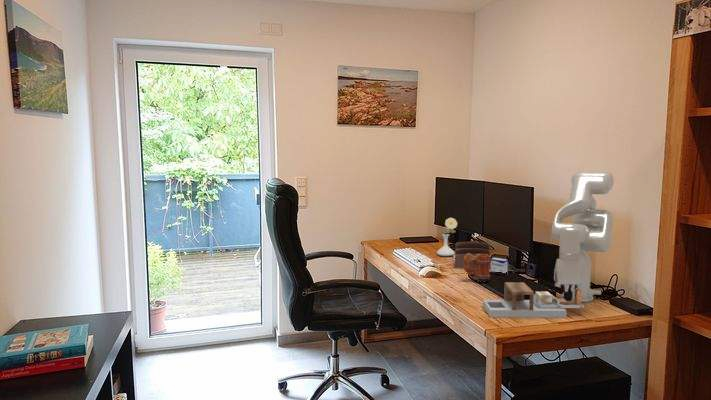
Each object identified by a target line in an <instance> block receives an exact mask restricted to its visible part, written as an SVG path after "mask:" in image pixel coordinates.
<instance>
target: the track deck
mask: <svg viewBox="0 0 711 400" xmlns="http://www.w3.org/2000/svg"><path fill="white" fill-rule="evenodd" d="M482 307H483V310H484V311H485V312H486V313H487V315H488V317H489V318H506V319H507V318H511V319H512V318H516V319H517V318H519V319H521V318H522V319H523V318H525V319H528V318H530V319H531V318H533V319H534V318H535V319H543V318H544V319H545V318H546V319H567V310H566V308H538V307H537V306H536V305H535V304H534V303H533V310H529V299H524V301H516V310H512V301H505V300H504V299H482Z"/></svg>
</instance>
